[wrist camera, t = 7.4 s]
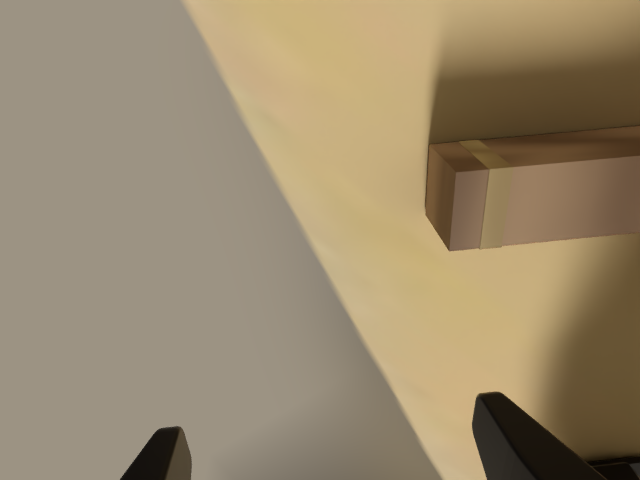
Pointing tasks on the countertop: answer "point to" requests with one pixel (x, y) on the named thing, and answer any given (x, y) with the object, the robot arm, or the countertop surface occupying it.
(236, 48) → the countertop surface
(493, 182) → the tan long bar
